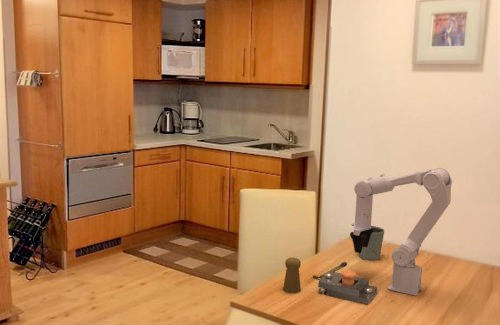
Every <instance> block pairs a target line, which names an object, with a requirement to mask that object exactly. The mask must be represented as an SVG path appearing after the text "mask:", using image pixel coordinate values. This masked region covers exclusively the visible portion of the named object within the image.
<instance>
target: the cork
mask: <svg viewBox="0 0 500 325" xmlns="http://www.w3.org/2000/svg"><path fill="white" fill-rule="evenodd" d="M284 264H285V268H286V271H285V277H284V280H283V281H284V282H283V287H282V290H283V291H284V292H285V293H289V294H297V293H300V292H301V291H302V290H301V279H300V278H301V277H300V268H301V265H302V264H301V260H300V259H299V258H297V257H288V258H286V260H285V262H284Z"/></svg>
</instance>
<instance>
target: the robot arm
mask: <svg viewBox="0 0 500 325" xmlns="http://www.w3.org/2000/svg"><path fill="white" fill-rule="evenodd" d="M414 183H415V184H416V185H419V186H420V187H422V186H424V188H425V189H426V191H427V193H428V194H429V195H430V199H431V203H430V204H429V206H428V207H427V209H426V210H425V212H424V213H423V214H422V216H421V217H420V219H419V220H418V221H417V223H416V224H415V226H414V227H413V229H412V230H411V232H410V233H409V235H408V236H407V237H406V239H405V240H404V241H403V242H402V243H401V245H400V246H399V247H397V248H394V250H393V251H392V253H391V260H392V262H393V267H392V280H391V284H390V285H389V286H388V290H389V291H394V292H398V293H402V294H407V295H412V296H417V295H418V294H419V292H420V290H421V289H422V276H423V268H422V267H421V266H419V265H417V264H416V260H415V259H417V258H418V256H419V252H420V248H421V247H422V244H423V242H424V241H425V239H426V238H427V236H428V235H429V234H430V232H431V231H432V229H433V228H434V227H435V226H436V225H437V222H438V221H439V220H440V218H441V216H442V215H444V212H446V210H447V208H448V207H449V205H450V203H451V200H452V198H451V195H452V192H451V191H452V183H453V181H452V178H451V175H450V173H449V171H448V170H447V169H446V168H442V167H438V168H435V169H433V168H430V169H429V168H428V169H420V170H415V171H413V172H409V173H406V174H401V175H398V176H394V177H393V176H392V175H389V174H385V173H382V174H380V175H379V176H376V177H373V178H372V177H368V178H367V179H363V180H360V181H358V182H357V183H356V184H355V185H354V188H353V189H354V193H355V195H356V198H355V199H356V200H355V215H354V222H352V223H351V226H352V227H354V228H353V231H351V232H350V233H349V237H350V238H351V241H352V244H353V249H354V253H357V254H358V253H361V251H362V247H367V246H368V243H369V240H370V237H371V234H372V232H373V231H374V228H372V227H371V226H372V215H373V199H374V195H379V194H384V193H387V192H388V193H389V192H393V190H394V189H395V187H399V186H404V185H410V184H414Z"/></svg>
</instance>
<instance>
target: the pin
mask: <svg viewBox="0 0 500 325" xmlns="http://www.w3.org/2000/svg"><path fill="white" fill-rule="evenodd" d="M340 273H341V276H342V284H347V285H351V286H354V278H356V277H357V272H356V271H353V270H350V269H345V270H341V272H340Z"/></svg>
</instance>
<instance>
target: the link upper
mask: <svg viewBox="0 0 500 325" xmlns="http://www.w3.org/2000/svg"><path fill="white" fill-rule="evenodd" d="M329 271H330V270H329ZM325 273H326V272H325ZM320 279H321V278H320ZM369 285H370V279H368V278H365V277H360V276H359V277H358V276H356V278H354V286H351V285H347V284H342V276H341V272H336V271H335V272H332V271H330V272H329V273H326V274H325V276H324V277H323V278H322V279H321V280H318V285H317V287H318V288H319V289H318V292H319V293H320V294H324V293H325V292H327V289H329V290H333V291H337V292H341V293H345V294H349V295H354V296H358V297H359V296H360V295H361V294H362V293H363V291H364V290H365V288H367V287H368V286H369Z"/></svg>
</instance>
